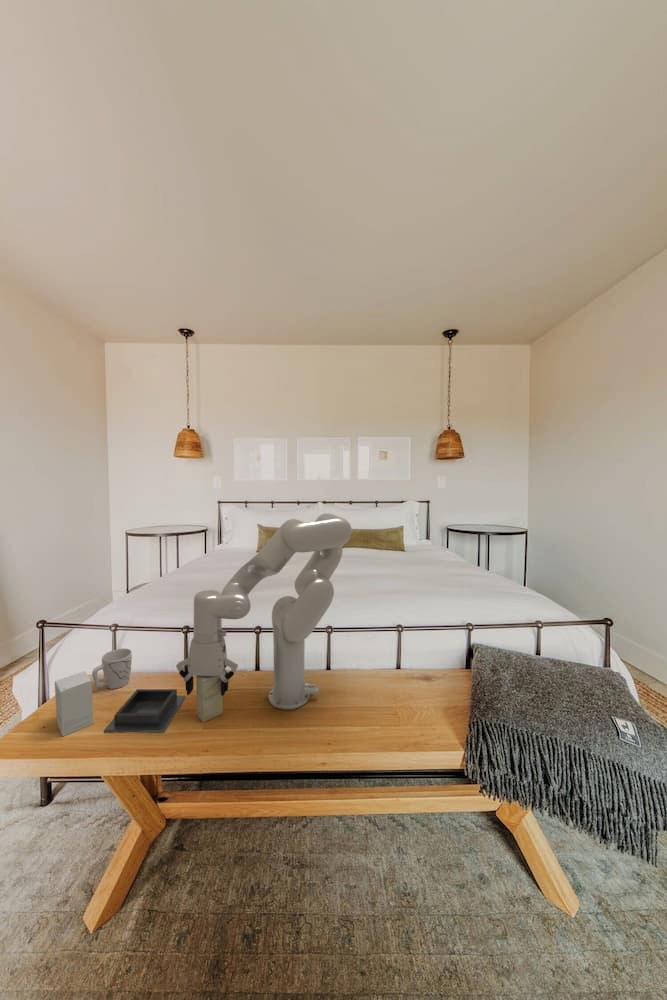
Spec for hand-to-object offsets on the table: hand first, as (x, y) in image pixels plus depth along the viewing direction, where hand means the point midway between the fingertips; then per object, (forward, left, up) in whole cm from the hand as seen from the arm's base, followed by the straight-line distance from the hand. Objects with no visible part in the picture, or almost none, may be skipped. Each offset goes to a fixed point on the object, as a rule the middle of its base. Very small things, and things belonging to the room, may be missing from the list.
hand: (207, 692), depth 106 cm
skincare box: (-1, 0, -7) cm, 7 cm away
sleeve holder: (+17, 0, -7) cm, 19 cm away
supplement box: (+35, +4, -7) cm, 36 cm away
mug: (+35, -14, -7) cm, 39 cm away
